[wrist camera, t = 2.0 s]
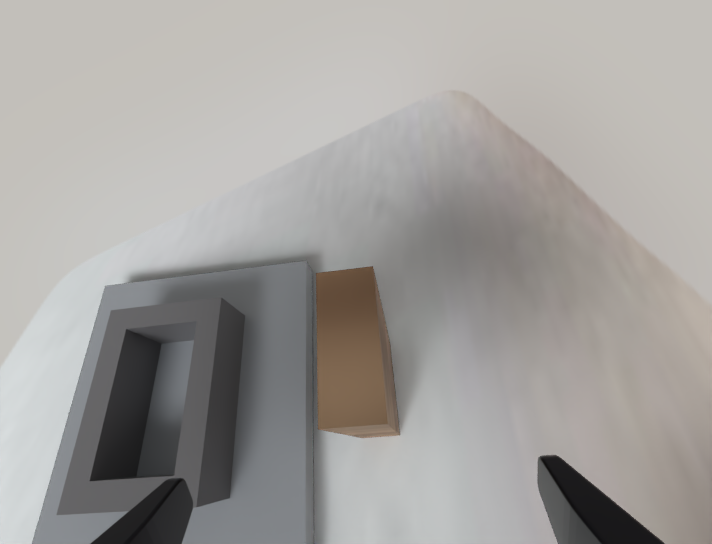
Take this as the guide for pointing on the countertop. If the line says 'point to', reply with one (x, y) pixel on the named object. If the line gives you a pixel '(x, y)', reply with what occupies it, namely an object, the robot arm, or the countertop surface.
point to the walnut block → (353, 356)
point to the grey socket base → (194, 409)
